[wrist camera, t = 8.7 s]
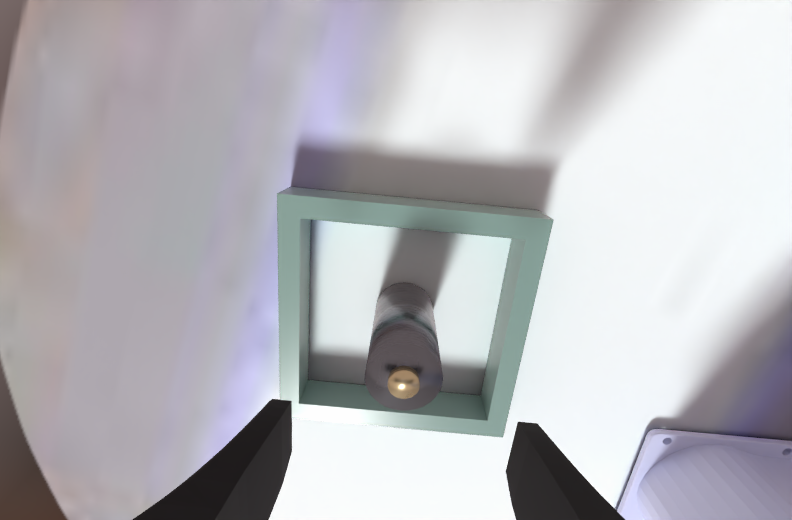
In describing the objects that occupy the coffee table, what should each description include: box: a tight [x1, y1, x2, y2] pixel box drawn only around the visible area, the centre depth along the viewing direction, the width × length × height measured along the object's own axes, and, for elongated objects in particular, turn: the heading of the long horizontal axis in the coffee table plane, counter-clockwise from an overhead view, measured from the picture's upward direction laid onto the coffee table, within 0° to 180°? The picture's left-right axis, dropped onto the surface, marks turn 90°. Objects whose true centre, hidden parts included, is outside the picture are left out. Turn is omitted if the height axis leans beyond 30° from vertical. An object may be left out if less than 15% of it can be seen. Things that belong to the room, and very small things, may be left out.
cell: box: [365, 283, 443, 411], centre depth 17 cm, size 3×3×6 cm
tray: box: [277, 187, 553, 437], centre depth 19 cm, size 12×12×2 cm
